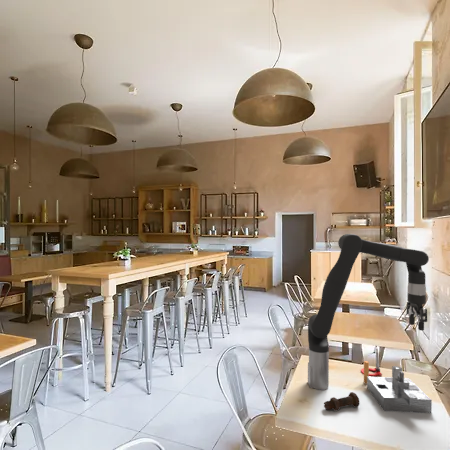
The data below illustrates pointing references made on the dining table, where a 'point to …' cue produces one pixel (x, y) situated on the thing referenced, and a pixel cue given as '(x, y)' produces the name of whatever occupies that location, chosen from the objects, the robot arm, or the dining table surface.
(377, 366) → the tow hook
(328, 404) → the bolt
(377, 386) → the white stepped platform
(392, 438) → the dining table surface
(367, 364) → the rounded pin
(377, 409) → the dining table surface
